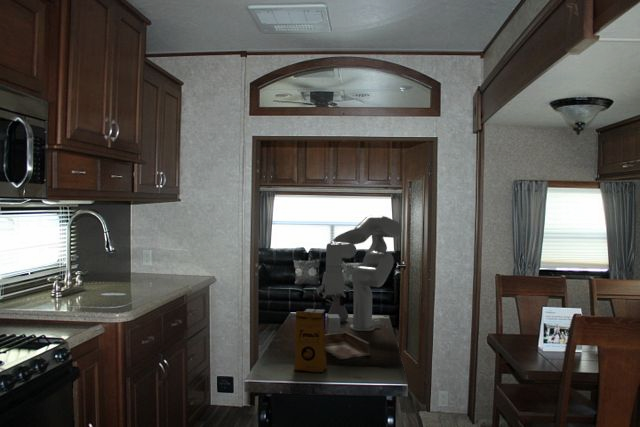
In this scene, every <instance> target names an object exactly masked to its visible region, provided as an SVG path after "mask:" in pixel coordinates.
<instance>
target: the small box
mask: <svg viewBox="0 0 640 427" xmlns="http://www.w3.org/2000/svg"><path fill="white" fill-rule="evenodd" d="M339 332H341V323H340V317H339V315H338V314H328V313H326V334H331V333H339Z"/></svg>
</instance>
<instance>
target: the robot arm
mask: <svg viewBox="0 0 640 427" xmlns="http://www.w3.org/2000/svg"><path fill="white" fill-rule="evenodd" d="M401 234H402V225H401V224H400V222H398V221H397V220H394V219H392V218H390V217H388V216H385V215H369V216H366V217H365V218H364V219H363V220H361V221H360V223H358V224H357V225H356V226H355V227H354V228H352V229H349V230H347V231H345V232H343V233H340V234H338V235H337V236H336V237H334V239H332V240H331V241H330V242H329V243H327V244H326V250H325V252H326V255H325V271H324V272H323V275H322V282H321V285H320V286H319V287H317V288H316V289H315V291H316V292H317V294H318V295H319V296H320V304H321V307H323V308H326V307H327V301H326V299H327V298H326V297H327V295H340V305H341V306H345V302H346V300H345V299H346V297H347V296H348V294H349V292H350V289H351V288H350V286H347V285H346V284H345V277H344V272H343V270H345V266H343V259H352V258H354V257H355V256H356V254H357V247H356V245H359V244H360V245H361V244H363V243H365V242H366V241H367V240H368V239H370V237H371V244H370V247H369V248H368V250H367V251H366V253H365V255H364V257H363V260H362V264H363V265H358V266H355V267H354V268H353V269H352V271H351V281H352V288H353V300H352V301H353V304H352V305H353V307H352V310H353V311H352V313H353V314H352V315H353V316H352V319H353V320H352V322H353V323H351V324H350V325H349V329H351V330H353V331H356V332H357V331H358V332H371V331H374V330H375V329H376V326H375V325H379V324H381V320H380V319H374V318H373V292H372V289H371V287H375V288H380V287H382V286H383V285H384V284H385V282H386V281H387V279H388V277H389V276H390V273H391V271H392V269H393V267H394V262H395V260H394V259H395V258H394V256H393V255H392V253H390V252H388V251H387V250H388V246H387V243H386V241H385V239H384V238H394V239H395V238H399V236H401Z"/></svg>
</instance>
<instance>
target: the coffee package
mask: <svg viewBox="0 0 640 427" xmlns="http://www.w3.org/2000/svg"><path fill="white" fill-rule="evenodd" d="M325 330H326V329H325ZM325 330H324V317H323V313H319V312H304V311H296V312H295V328H294V354H295V355H294V356H295V358H294V364H293V367H294V368H293V369H294V371H301V372H310V373H320V372H323V373H324V371H325V370H326V369H327V353H328V352H327V351H326V350H325V334H326V331H325ZM324 369H325V370H324Z"/></svg>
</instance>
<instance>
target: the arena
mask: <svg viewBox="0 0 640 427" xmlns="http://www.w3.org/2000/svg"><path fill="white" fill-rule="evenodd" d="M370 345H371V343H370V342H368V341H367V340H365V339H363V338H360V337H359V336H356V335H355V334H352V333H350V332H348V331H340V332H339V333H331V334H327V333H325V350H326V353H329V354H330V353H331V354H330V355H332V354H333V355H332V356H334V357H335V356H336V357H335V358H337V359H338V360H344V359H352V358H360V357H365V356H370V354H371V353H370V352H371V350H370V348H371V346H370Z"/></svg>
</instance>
